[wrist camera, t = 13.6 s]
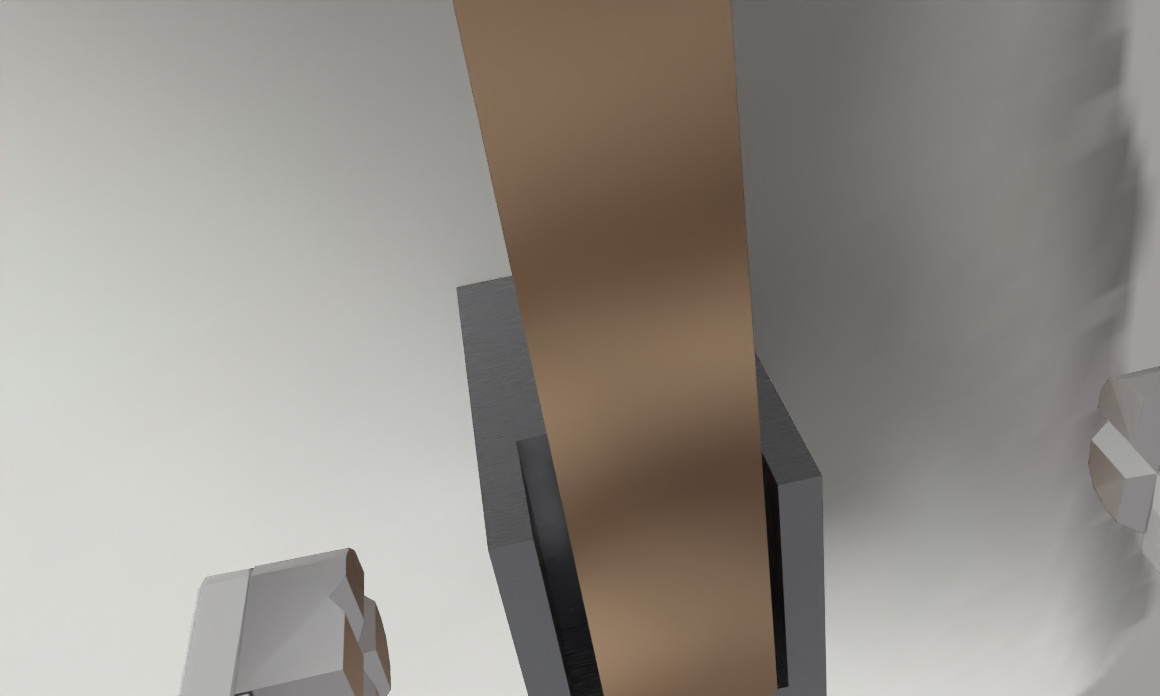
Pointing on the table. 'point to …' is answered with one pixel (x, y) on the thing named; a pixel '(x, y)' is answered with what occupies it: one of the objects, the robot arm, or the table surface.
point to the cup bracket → (540, 535)
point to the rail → (637, 321)
